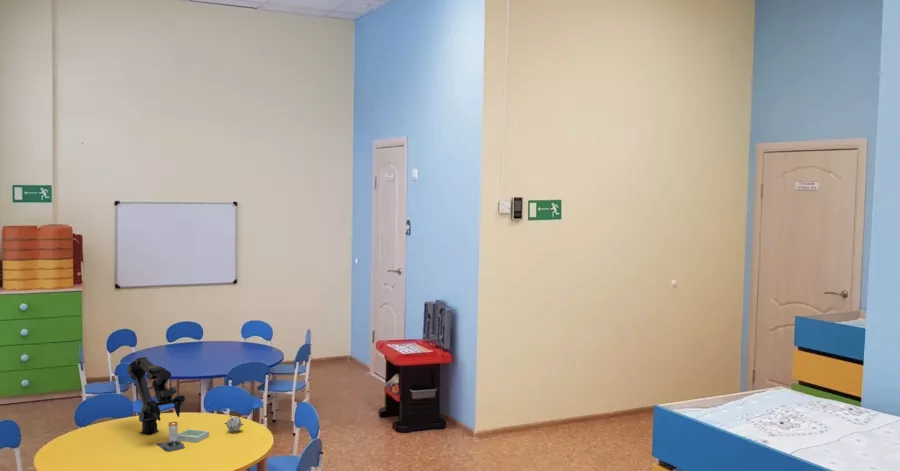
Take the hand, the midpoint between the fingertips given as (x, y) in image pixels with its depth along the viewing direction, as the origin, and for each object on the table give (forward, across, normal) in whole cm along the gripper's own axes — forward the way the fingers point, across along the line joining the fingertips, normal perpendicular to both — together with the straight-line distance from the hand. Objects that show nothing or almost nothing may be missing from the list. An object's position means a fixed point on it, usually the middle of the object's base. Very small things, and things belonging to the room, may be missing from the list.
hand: (169, 418), depth 366 cm
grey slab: (+13, -2, +5) cm, 14 cm away
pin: (+14, -2, +1) cm, 15 cm away
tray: (+10, +11, +8) cm, 17 cm away
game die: (+11, +33, +7) cm, 35 cm away
